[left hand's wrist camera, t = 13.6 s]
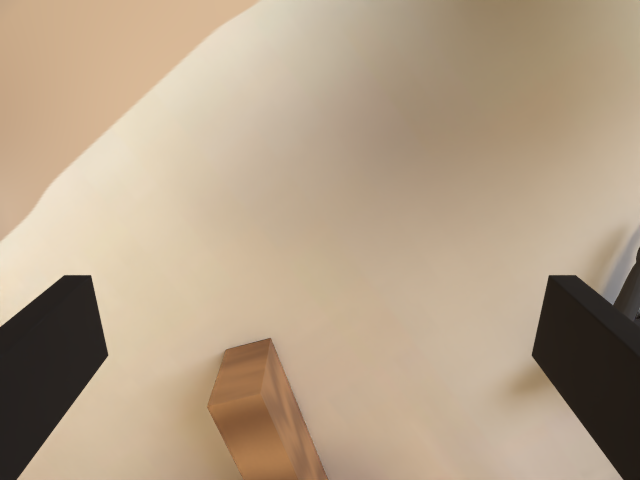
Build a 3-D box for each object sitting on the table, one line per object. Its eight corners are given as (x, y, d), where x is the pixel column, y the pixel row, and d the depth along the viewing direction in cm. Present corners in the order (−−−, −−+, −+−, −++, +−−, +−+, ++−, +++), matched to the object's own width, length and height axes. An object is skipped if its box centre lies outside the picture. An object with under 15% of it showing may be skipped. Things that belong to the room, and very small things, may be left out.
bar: (225, 349, 46) (206, 406, 38) (270, 338, 46) (260, 393, 38) (291, 493, 54) (286, 565, 46) (330, 485, 54) (332, 556, 46)
